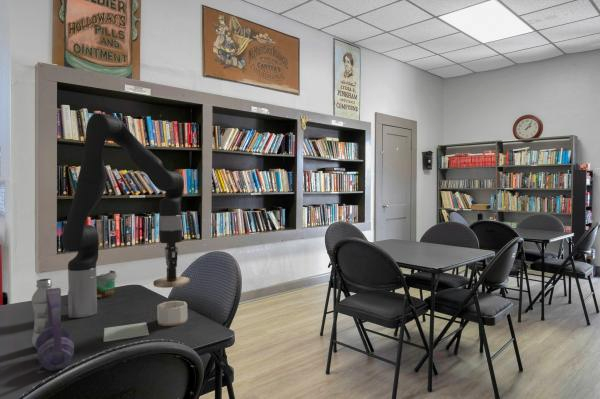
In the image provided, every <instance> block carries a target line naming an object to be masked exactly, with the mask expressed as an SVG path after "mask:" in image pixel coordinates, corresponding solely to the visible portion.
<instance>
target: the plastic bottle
mask: <svg viewBox="0 0 600 399" xmlns="http://www.w3.org/2000/svg"><path fill="white" fill-rule="evenodd" d="M52 285H53V283H52V278H40V279H37V280H36V285H35V286H36V288H37V289H36V290H35V292H34V293H33V295H32V297H31V304H32V309H33V317H34V318H33V319H34V323H33V333H32V337H31V342H32V345H33V347H34V348H35V349H36V340H37V338H38V336H39V335H40V334H41V333H42V332H43V331H44V330H46V329H48V305H47V296H46V289H53V287H52Z"/></svg>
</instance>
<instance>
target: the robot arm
mask: <svg viewBox="0 0 600 399" xmlns="http://www.w3.org/2000/svg"><path fill="white" fill-rule="evenodd" d="M107 141H108V142H113V143H114V144H116V145H118V146H120V148H122V149H123V150H124V151H125V152H126V154H127V156H128V158H129V159H130V161H131V162H132V163H133V165H135V167H137V168H138V169H139V170H140V171H141V172H142V173H144V174H145V175H146V176H147V178H148V179H149V181H150V182H151V184H152V185H154V187H155V188H157V189H158V190H159V191H162V192H165V194H164V198H161V199H160V201H159V220H158V225H159V226H158V228H159V232H158V234H159V238H158V239H159V242H160V243H161V244H166V246H165V247H164V253H165V254H164V255H165V256H164V257H165V263H166V268H167V267H168V268H169V279H175V278H176V277H177V267H178V254H179V253H178V252H179V251H178V250H179V249H178V247H177V246H176V243H181V242H182V241H183V221H182V214H181V213H182V210H181V209H182V208H181V206H182V205H181V202H182V199H183V194H184V190H185V181H184V176H183V174H181V173H180V172H178V171H174V170H167V169H166V168H165V167H164V165H163V164H164V163H163V162H162V160H161V159H160V158H159V157H158V156H156V155H155V154H154V153H153V152H152V151H151V150H149V149H148V148H147V147H146V146H144V145H143V143H141V142H140V141H139V140H138V138H136V136H135V135H134V134H133V133H132V132H131V131H130V129H129V128H127V126H126V125H125V123H124V122H123V121H122V120H121V119H120V118H118V117H117V116H114V115H109V114H105V113H100V112H99V113H98V112H96V113H95V112H94V113H93V114H92V115H91V116H90V117H89V119H88V121H87V123H86V128H85V138H84V145H83V146H84V147H83V153H82V159H81V163H80V168H79V172H78V176H77V180H76V184H75V190H74V195H73V199H72V203H71V207H70V211H69V213H68V216H67V220H66V222H65V225H64V228H63V231H62V236H61V244H62V247H63V249H64V250H65V251H67V252H70V253H74V252H77V254H76V255H75V256H74V257H73V258H72V259H71V260H69V261H68V263H67V280H68V291H67V309H68V312H67V314H68V316H67V317H68V319H70V318H73V319H74V318H75V319H76V318H78V319H79V318H87V317H91V316H94V315H96V314H97V313H98V299H97V281H96V276H97V261H98V260H99V259H98V258H99V247H100V246H99V244H100V241H99V240H100V239H99V233H98V230H97V229H96V228H95V227H94V225H91V224H87V220H88V217H89V215H90V214H91V213H92V211H93V209H94V208H96V206H97V205H98V203H99V202H100V200H101V199H102V198H103V196H104V193H105V190H106V184H107V180H108V174H107V169H106V166H105V163H104V158H103V153H104V147H105V144H106V142H107Z"/></svg>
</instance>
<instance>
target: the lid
mask: <svg viewBox="0 0 600 399" xmlns="http://www.w3.org/2000/svg"><path fill="white" fill-rule="evenodd" d="M190 280H191V279H190V278H189V277H187V276H176V278H175V279H169V268H168V267H167V266H166V277H163V278H162V277H161V278H158V279H155V280H153V287H156V288H164V289H166V288H168V289H169V288H178V287H183V286H186V285H188V284H190Z"/></svg>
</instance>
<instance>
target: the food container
mask: <svg viewBox="0 0 600 399" xmlns="http://www.w3.org/2000/svg"><path fill="white" fill-rule="evenodd" d="M117 277H118V275H117V273H116V270H109V272H107V273H102V274H100V275H96V281H97V298H102V299H107V298H106V297H108V298H111V296H112V297H113V295H114V296H115V286H116V285H115V284H116V278H117Z"/></svg>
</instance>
